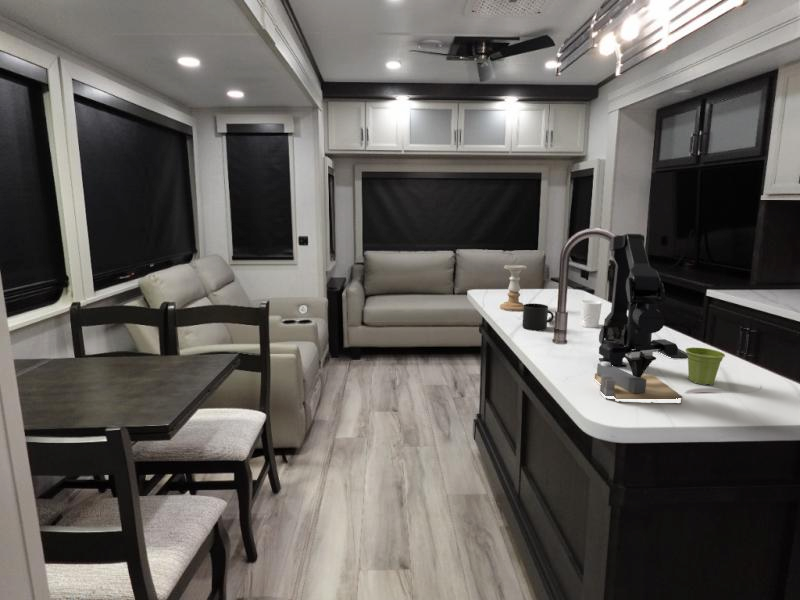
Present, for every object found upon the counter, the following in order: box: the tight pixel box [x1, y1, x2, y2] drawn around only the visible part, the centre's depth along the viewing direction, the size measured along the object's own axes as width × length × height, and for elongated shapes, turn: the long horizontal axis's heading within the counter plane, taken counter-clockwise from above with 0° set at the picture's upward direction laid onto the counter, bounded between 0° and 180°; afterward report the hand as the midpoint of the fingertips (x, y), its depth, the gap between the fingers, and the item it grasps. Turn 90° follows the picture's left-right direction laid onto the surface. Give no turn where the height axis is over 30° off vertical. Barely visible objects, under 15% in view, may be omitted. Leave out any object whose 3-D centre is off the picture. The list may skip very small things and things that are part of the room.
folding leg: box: [596, 361, 646, 394], centre depth 133 cm, size 15×3×4 cm, turn 15°
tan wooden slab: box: [594, 373, 683, 399], centre depth 133 cm, size 16×18×5 cm
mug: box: [522, 303, 554, 332], centre depth 199 cm, size 9×12×9 cm
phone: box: [658, 348, 688, 359], centre depth 169 cm, size 8×1×15 cm
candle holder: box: [499, 264, 528, 312], centre depth 235 cm, size 12×12×20 cm
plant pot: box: [685, 346, 726, 385], centre depth 140 cm, size 9×9×9 cm
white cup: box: [580, 299, 603, 329], centre depth 203 cm, size 8×8×10 cm
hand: (636, 381), depth 130 cm, fingers closed
